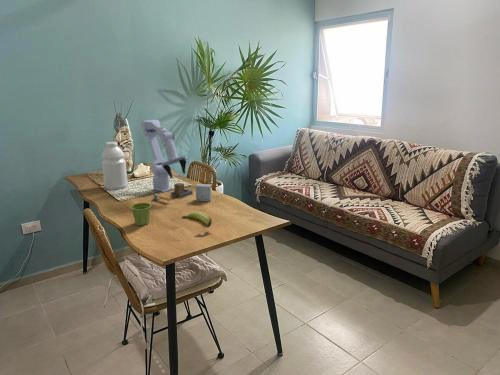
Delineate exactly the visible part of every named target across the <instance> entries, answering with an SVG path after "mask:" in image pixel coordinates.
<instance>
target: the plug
mask: <svg viewBox="0 0 500 375" xmlns="http://www.w3.org/2000/svg"><path fill="white" fill-rule="evenodd" d="M173 188H174V190H173V192H174V191H175V195H174V196H175V197H176V198H177V197H178V198H180V194H183V193H185V191H184V189H185V184H184V183H181V182H178V183H174V184H173Z"/></svg>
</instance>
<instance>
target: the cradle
mask: <svg viewBox="0 0 500 375" xmlns="http://www.w3.org/2000/svg"><path fill="white" fill-rule="evenodd" d="M184 191H185V193H183V194H180V197H179V198H180V199H182V198H187V197H188V196H191V195H193V193H194V192H193V190H192V189H186V188H184ZM174 196H175V191H174V190H173V191H171V192H170V197H174Z"/></svg>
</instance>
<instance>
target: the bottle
mask: <svg viewBox="0 0 500 375" xmlns="http://www.w3.org/2000/svg"><path fill="white" fill-rule="evenodd" d="M105 146H106V147H104V149H103V150H102V153H101V156H100V157H101V158H102V161H101V168H102V177H103V183H104V184H103V186H104V188H105V189H106V190H111V191H112V190H113V191H116V190H122V189H125V188H128V186H129V182H128V174H127V162H126V159H124V156H125V153H124V151H123V150H122V149H121V148H120V147H119V144H118V142H117V141H107V142H105Z"/></svg>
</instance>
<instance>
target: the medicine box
mask: <svg viewBox="0 0 500 375" xmlns="http://www.w3.org/2000/svg"><path fill="white" fill-rule="evenodd" d="M212 198H213V197H212V184H210V183H209V184H208V183H207V184H205V183H202V184H201V183H200V184H199V183H197V185H195V200H196V202H211V201H210V200H212Z"/></svg>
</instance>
